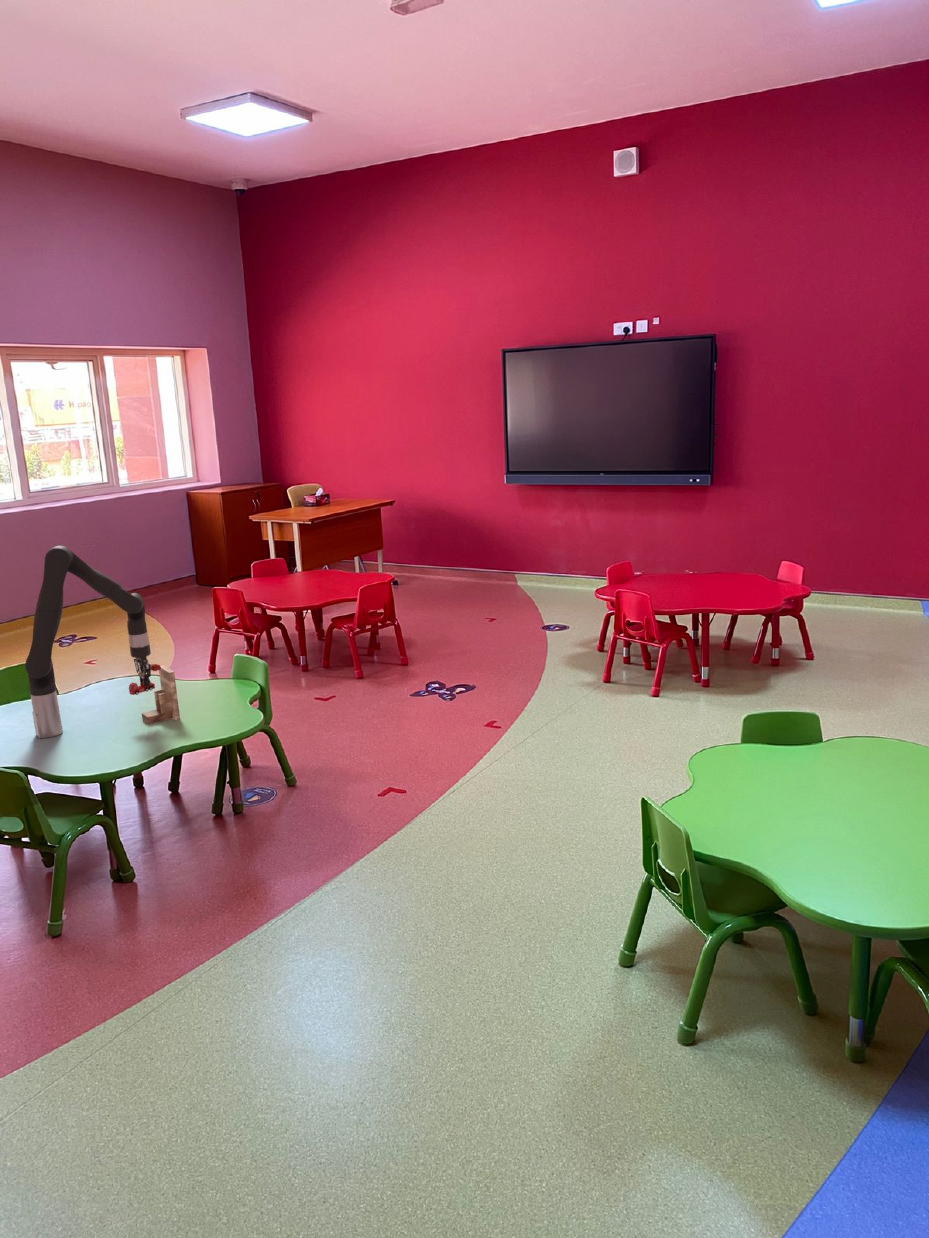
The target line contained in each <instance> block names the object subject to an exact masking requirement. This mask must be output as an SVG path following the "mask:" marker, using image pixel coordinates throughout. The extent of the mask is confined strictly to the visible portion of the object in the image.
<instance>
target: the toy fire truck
mask: <svg viewBox="0 0 929 1238" xmlns="http://www.w3.org/2000/svg"><path fill="white" fill-rule="evenodd" d="M149 664H150V663H149ZM150 665H151V671H152V672H158V671H159V670H160V669H161V667H160V664H157V663H156V664H153V663H151V664H150ZM137 676H138V677H139V678H140V677H141V678H142V673H141V672H139V673H137ZM142 679H143V678H142ZM149 682H150V686H149V687H144V684H143V681H142V682H141V683H140V682H139V684H140V685H138V683H136V682H131V683H129V685H128V691H129V695H133V696H135V695H136V696H138V695H139V694H141V693H144V692H146V693H147V692H149V691H153V690H154V689H156V685H155V683H154V682H151V679H150V678H149Z"/></svg>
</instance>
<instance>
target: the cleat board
mask: <svg viewBox="0 0 929 1238" xmlns="http://www.w3.org/2000/svg"><path fill="white" fill-rule="evenodd" d="M159 665H160V664H159ZM160 667H161V669H160V670H158V673H159V680H160V683H159V684H160V689H157V690H153V693H154V702H155V707H156V709H152V710H148V711H143V712H141V718H142V721H143V722H144V723H146V724H147V725H152V724H155V723H159V722H163V721H168V720H175V721H178V720H181V715H180V708H179V707H180V706H179V698H178V691H177V684H176V676H175V671H173V670H172V669H170V668H169V667H167V666H166V665H164V664H161V665H160Z"/></svg>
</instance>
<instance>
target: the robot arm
mask: <svg viewBox="0 0 929 1238" xmlns="http://www.w3.org/2000/svg"><path fill="white" fill-rule="evenodd" d="M43 567H44V568H43V577H42V583H41V587H40V590H39V593H38V597H37V602H36V606H35V611H34V617H33V626H32V640H31V644H30V649H29V652H28V655H27V658H26V660H25V663H24V669H25V672H26V673H27V678H28V685H29V687H28V689H29V693H30V694H29V695H30V700H31V706H32V713H31V714H32V718H33V719H32V720H33V723H34V729H35V735H36V736H37V737H38V739H44V738H45V739H46V738H47V739H48V738H53V737H56V736H59V735H60V734H62V733H63V732H64V731H63V723H62V719H61V713H60V712H61V710H60V705H59V699H58V693H57V688H56V678H55V672H54V671H55V670H54V663H53V660H52V659H53V658H52V654H53V653H52V652H53V646H54V643H55V639H56V636H57V633H58V630H59V627H60V623H61V620H62V614H63V609H64V585H65V580H66V576H67V573H69V574H72V575H74V576H76V577H77V578H78V579H80V580H81V581H83V582H84V583H85V584H86V585H88V586H89V587H90V588H91V589H93V590H94V591H95V592H97V593H98V594H100V595H101V596H103V597H104V598H106V599H108V600H110V601H111V602H113V603H114V604H115V605H116V606H117V607H118V608H120V609H121V610H123V611H124V612H126V614H127V622H126V623H127V624H126V627H127V632H128V633H127V634H128V645H129V652H130V656H131V658H133V662H134V667H135V670H136V673H137V674H138V673H139V672H141V673H142V678H143V679H142V678H141V677H139V684H140V683H141V682H142V681H143V684H144V687H149V686H150V682H149V679H150V678H151V676H152V673H151V671H152V670H151V665H150V662H149V659H148V657H149V656H150V655H151V654H152V652H151V645H150V644H151V643H150V638H149V634H148V629H147V628H148V627H147V622H146V609H145V608H146V607H145V599H144V598H143V596H142V595H141V594H139V593H137V592H133V593H132V592H131V593H130V592H128V591H127V590H125V588H124V587H123V585H121V584H120V583H119V582H117V581H116V580H113V579H112V578H110V577H109V576H107V575H106V574H103V573H102V572H100V571H99V570H97V569H95V568H94V567H92V566H91V565H90V564H88V563H87V562H85V561H84V560H83V559H81V558H80V557H79V556H78V555H77V554H76V553H75V552H73V551H72V550H71V549H70V548H69V547H67V546H65V545H55V546H53V547H51V548H50V549H48V550H47V552H46V554H45V556H44V566H43Z"/></svg>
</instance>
